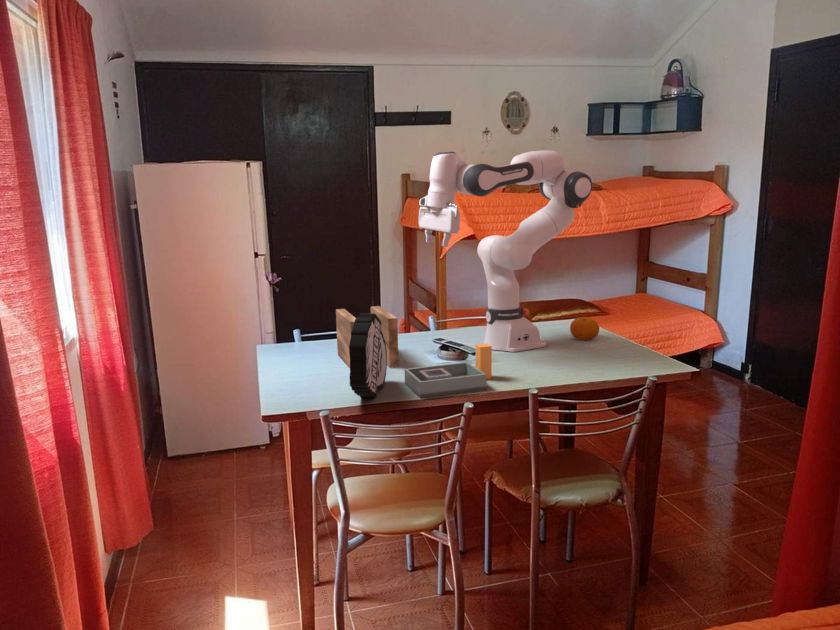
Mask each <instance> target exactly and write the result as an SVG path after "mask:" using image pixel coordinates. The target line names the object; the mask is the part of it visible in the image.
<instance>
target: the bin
mask: <svg viewBox="0 0 840 630" xmlns="http://www.w3.org/2000/svg"><path fill="white" fill-rule="evenodd" d="M439 368H443V369H444V370H446V371H447V372H448V373H450V374H451V375H452V378H445V379H437V380H428V381H421V380H420V379H419V371H422V370H430V369H439ZM403 369H404V385H405V386H406V387H408V388H409V389H410V390H411V391H412V392H413V393H414V394H415V395H416V396H417V397H418V398H419V399H425V398H429V397H431V398H432V397H440V396H446V395H455V394H462V393H471V392H477V391H486V390H487V380H488V379H487V374H485V373H484V372H482V371H480V370H479V369H477V368H476V366H474V365H473V364H471V363H469V362H468V361H465V362H457V363H456V362H455V363H446V364H445V363H444V364H436V365H429V366H422V367H421V366H419V367H411V368H403Z"/></svg>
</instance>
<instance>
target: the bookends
mask: <svg viewBox="0 0 840 630" xmlns="http://www.w3.org/2000/svg"><path fill="white" fill-rule="evenodd" d="M370 314H376V316H377V317H378V318H379V319H380V321H381V331H382V334H383V337H384V340H385V343H386V349H387V367H388V368H398V367H399V337H398V336H399V333H398V331H399V330H398V327H399V326H398V317H397V316H395V315H393V314H392V313H390V312H389V311H387V310H386V309H385V308H384V307H382V306H380V305H375V306H373V305H372V306H370ZM355 319H356V317H355V316H353V314H352V313H350V312H349V311H348V310H346V308H337V309H335V325H336V345H337V356H338V357H339V359H341V360H342V361H343V362H344V364H345V365H346V366H347V368H349V369H350V355H349V344H350V339H351V333H352V328H353V325H354V323H355Z"/></svg>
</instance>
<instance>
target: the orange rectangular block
mask: <svg viewBox="0 0 840 630" xmlns="http://www.w3.org/2000/svg"><path fill="white" fill-rule="evenodd" d="M492 350H493V349H492V346H490V345H488V344H483V343H479V344H475V367H476V368H477V369H479V370H480V371H482V372H484V373H485V374H487V380H490V379H491V380H492V366H493V365H492V363H493V362H492V352H493V351H492Z"/></svg>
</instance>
